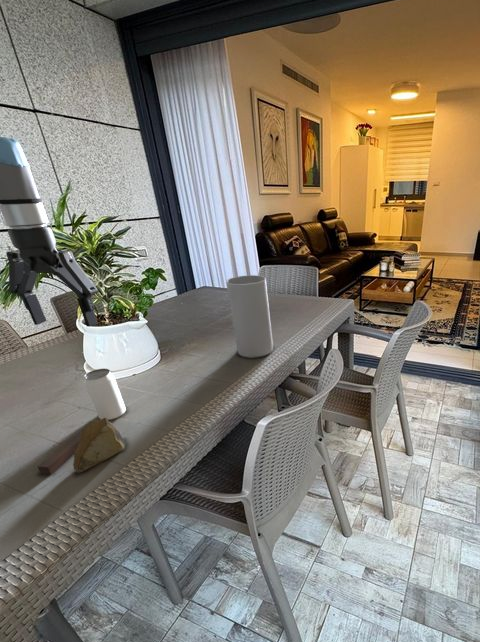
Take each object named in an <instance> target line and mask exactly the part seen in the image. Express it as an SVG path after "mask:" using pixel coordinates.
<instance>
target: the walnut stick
mask: <svg viewBox="0 0 480 642" xmlns="http://www.w3.org/2000/svg"><path fill="white" fill-rule="evenodd" d="M93 421H94V420H90V421H88V422H87V423H86V424H84V425H83V426H82V427H81V428H80V429H79V430H78V431H77V432H75V433H74V434H73V435H72V436H70V437H69V439H67V440H66V441H65V442H64V443H63V444H61V445H60V446H59V447H58V448H57V449H55V450H54V451H53V452H52V453H51V454H49V456H47V457H46V458H45V459H43V461H42V462H40V463H39V464H38V465H37V466H36V468H37V469H38V471H39V473H40V474H42V475H53V474H54V473H55V472H56V471H57V470H58V469H59V468H60V467H61V466H62V465H63V464H64V463H66V462H67V461H68V460H69V459H70V458H71V457H72V456H74V453H75V450H76V449H77V448H78V444H79V440H80V438H81V431H82V429H84V428H86V427H87V426H88V425H90V424H91V423H92V422H93Z"/></svg>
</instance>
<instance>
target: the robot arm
mask: <svg viewBox="0 0 480 642" xmlns="http://www.w3.org/2000/svg"><path fill="white" fill-rule="evenodd" d="M31 170H32V169H31V165H30V164H29V162H28V159H27V158H26V154H25V153H24V150H23V148H22V145H21V144H20V143H19V142H18V141H17V140H16V139H14V138H12V137H6V136H0V218H1V220H2V223H3V225H4V226H5V227H9V229H7V234H8V236H9V239H10V241H11V243H12V244H11V245H12V246H13V247H14V248H15V249H16V250H10V251H6V253H5V255H6V258H7V262H8V292H9V293H10V294H11V295H17V296H18V297H19V298H21V301H22V303H23V306H24V308H25V309H26V310H27V311H28V313H29V315H30V318H31V320H32V322H33V324H34V325H35V326H38V325H40V324H43V323H46V322H47V318H46V315H45V313H44V311H43V309H42V306H41V303H40V302H39V298H38V297H37V294H36V293H35V292H34V287H35V284H36V281H37V279H38V275H39V274H42V273H44V274H51V275H53V276H54V277H57V278H58V279H59V280H60V281H61V282H63V284H65V285H66V286H67V287H68V288H69V289H70V290H71V291H72V292H74V293H75V294H76V295H77V296H78V297H77V298H76V300H77V303H78V306H79V309H80V312H81V314H82V317H83V320H84V323H85V325H86V327H88V328H89V327H92V326H95V325H96V324H98V319H97V317H96V313H95V310H96V307H95V304H94V300H93V297H92V296H93V295H95V294H97V293H98V292H99V289H98V288H97V287H96V285H95V283H93V281H92V280H91V279H90V277H88V275H87V274H86V272H85V271H84V270H83V268H82V267H81V265H80V264H79V263H78V262H77V261H76V259H75V257H74V255H73V252H72V251H71V250H69V249H67V250H63V251H58V250H57V248H56V245H57V240H56V237H55V235H54V231H53V229H52V228H51V227H50V226H48V224H49V223H50V221H49V218H48V216H47V213H46V210H45V207H44V204H43V202H42V199H41V197H40V194H39V191H38V187H37V185H36V183H35V179H34V175H33V173H32V171H31Z"/></svg>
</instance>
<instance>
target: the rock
mask: <svg viewBox="0 0 480 642" xmlns="http://www.w3.org/2000/svg"><path fill="white" fill-rule="evenodd" d="M92 421H93V422H92V423H91V424H90V425H88V426H87V427H86V428H84V429H82V431H81V438H80V440H79V444H78V448H77V449H76V450H75V453H74V454H73V463H72V466H73V469H74V471H75V472H76V473H77V474H80V473H83V472H84V471H86V470H88V469H90V468H92V467H94V466H96V465H98V464H99V463H101V462H103V461H105V460H107V459H109V458H112V457H113V456H115V455H116V454H119V453H120V452H122V451H123V450H124V449H125V447H126V446H125V445H126V444H125V443H126V442H125V440H124V438H123V436H122V434H121V433H120V431H119V430H118V429H117V428H116V427H115V426H114V424H113V423H112V422H111V420H107V419H106V418H103V419H100V418H98V419H96V420H92Z"/></svg>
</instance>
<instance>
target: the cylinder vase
mask: <svg viewBox="0 0 480 642" xmlns="http://www.w3.org/2000/svg"><path fill="white" fill-rule="evenodd" d="M225 283H226V288H227V295H228V302H229V309H230V314H231V320H232V326H233V332H234V338H235V344H236V351H237V354H238V355H239V356H241V357H244V358H248V359H249V358H250V359H253V358H255V359H256V358H261V357H264V356H267V355H269V354H271V352H272V351H273V350H274V341H273V334H272V333H273V332H272V323H271V315H270V305H269V296H268V287H267V278H266V276H262V275H256V274H255V275H253V274H252V275H251V274H249V275H239V276H235V277H230V278H228V279H227V280H226V282H225Z"/></svg>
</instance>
